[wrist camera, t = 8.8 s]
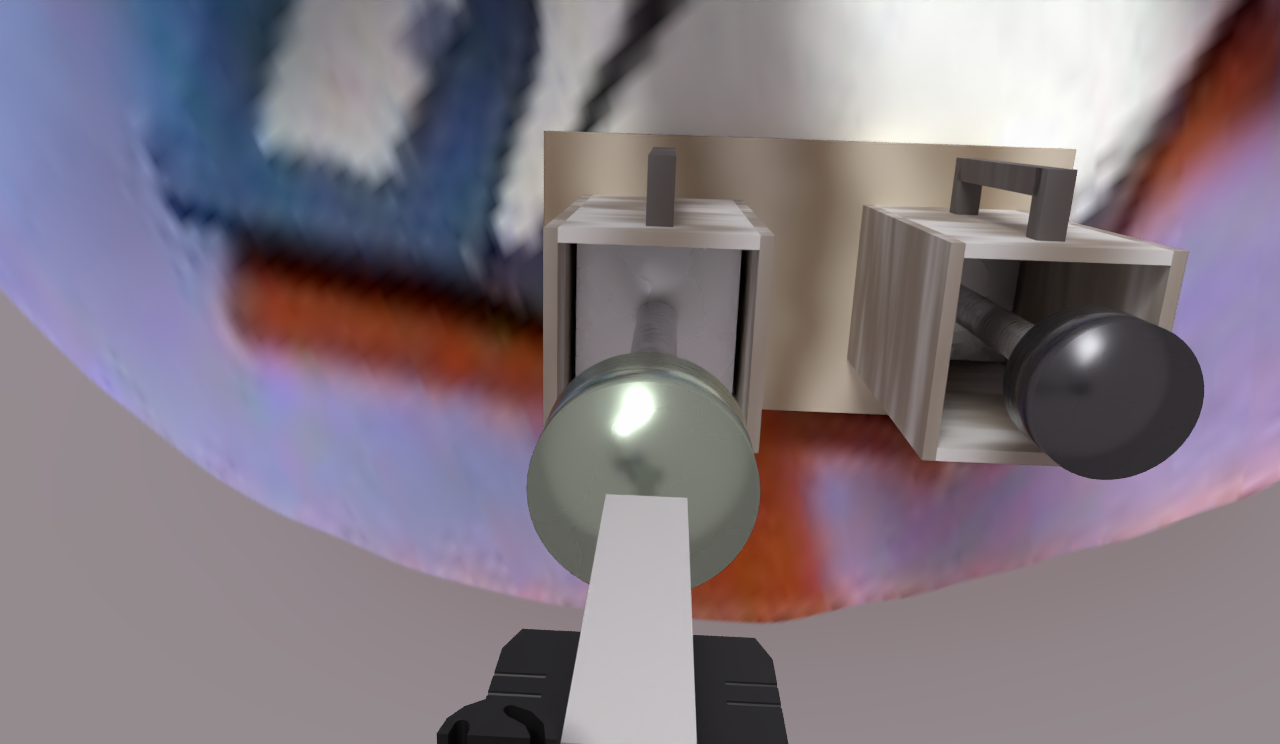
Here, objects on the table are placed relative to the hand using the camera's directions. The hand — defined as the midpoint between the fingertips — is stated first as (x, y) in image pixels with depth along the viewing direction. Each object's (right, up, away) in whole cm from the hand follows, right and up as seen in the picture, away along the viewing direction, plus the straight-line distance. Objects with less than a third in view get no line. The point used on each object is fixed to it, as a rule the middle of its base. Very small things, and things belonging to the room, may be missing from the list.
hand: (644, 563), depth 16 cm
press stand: (+8, +9, +30) cm, 32 cm away
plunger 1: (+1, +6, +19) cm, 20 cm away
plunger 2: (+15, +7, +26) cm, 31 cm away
